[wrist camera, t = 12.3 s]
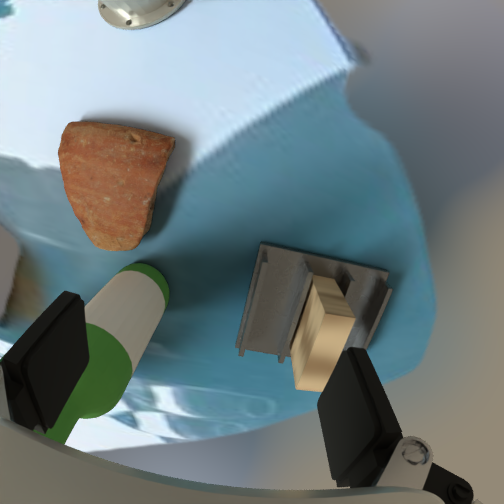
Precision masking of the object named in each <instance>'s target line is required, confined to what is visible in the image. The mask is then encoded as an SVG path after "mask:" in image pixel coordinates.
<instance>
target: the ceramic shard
mask: <svg viewBox="0 0 504 504" xmlns="http://www.w3.org/2000/svg"><path fill="white" fill-rule="evenodd" d="M174 148H175V138H173V137H170V136H166V135H162V134H159V133H155V132H151V131H146V130H143V129H138V128H132V127H127V126H122V125H115V124H103V123H98V122H87V121H86V122H79V121H78V122H70V123H68V125H67V126H66V128H65V130H64V132H63V134H62V136H61V143H60V147H59V150H58V156H59V162H60V169H61V173H62V178H63V181H64V188H65V192H66V195H67V197H68V200H69V202H70V204H71V206H72V208H73V211H74V213H75V215H76V217H77V218H78V219H79V221H80V223H81V225H82V228H83V229H84V231H85V232H86V234H87V236H88V237H89V239H90V240H91V241H92V242H93V244H94V245H95V246H96V247H98V248H100V249H105V250H108V251H126V250H132V249H134V248H136V247H137V246H138V245H139V243H140V241H141V239H142V237H143V236H144V235H145V234H146V233H147V232H148V230H149V229H150V226H151V221H152V215H153V210H154V204H155V200H156V193H157V187H158V185H159V183H160V181H161V179H162V176H163V173H164V170H165V167H166V163H167V161H168V159H169V157H170V155H171V153H172V152H173V150H174Z"/></svg>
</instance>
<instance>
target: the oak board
mask: <svg viewBox="0 0 504 504" xmlns="http://www.w3.org/2000/svg"><path fill="white" fill-rule="evenodd" d="M355 319H356V318H355V316H354V314H353V312H352V310H351V309H350V307H349V305H348V303H347V301H346V299H345V298H344V296H343V294H342V292H341V290H340V288H339V287H338V285H337V283H336V281H335V279H331V278H326V277H321V276H316V275H313V277H312V280H311V283H310V286H309V289H308V292H307V295H306V299H305V302H304V305H303V308H302V311H301V313H300V316H299V319H298V322H297V325H296V328H295V331H294V334H293V337H292V340H291V342H290V345H289V346H290V353H291V360H292V366H293V373H294V380H295V386H296V389H298V390H307V391H318V392H323V390H324V388H325V386H326V384H327V382H328V380H329V378H330V376H331V374H332V372H333V370H334V368H335V365H336V363H337V361H338V359H339V357H340V354H341V352H342V350H343V348H344V345H345V343H346V341H347V338H348V336H349V334H350V331H351V329H352V326H353V324H354V322H355Z"/></svg>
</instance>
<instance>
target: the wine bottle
mask: <svg viewBox="0 0 504 504" xmlns="http://www.w3.org/2000/svg"><path fill="white" fill-rule="evenodd" d="M168 301H169V287H168V284H167V282H166V280H165V278H164V276H163V275H162V274H161V273H160V272H159V271H158V270H156V269H155V268H154V267H152V266H149V265H147V264H142V263H136V264H130V265H128V266H126V267H124V268H123V269H122V270H121V271H119V272H118V273H117V274H116V275H115V276H114V277H113V278H112V279H111V280H110V281H109V282H108V283H107V284H106V285H105V286H104V287H103V288H102V289H101V290H100V291H99V292H98V293H97V294H96V295H95V297H94V298H93V299H92V300H91V301H90V302H89V303H88V304H87V305H86V306H85V320H86V330H87V339H88V347H89V355H90V358H89V363H88V365H87V367H86V369H85V371H84V372H83V374H82V376H81V377H80V379H79V381H78V383H77V384H76V386H75V388H74V390H73V392H72V393H71V395H70V397H69V399H68V401H67V402H66V404H65V406H64V408H63V410H62V412H61V414H60V415H59V417H58V419H57V421H56V423H55V425H54V427H53V428H52V429H50V428H48V430H47V432H46V434H42V433H40V432H38V431H36V430H33V431H34V432H36V433H38V434H40V435H43V436H45V437H47V438H49V439H52V440H54V441H57V442H59V443H61V444H65V442H66V440H67V439H68V437H69V435H70V433H71V431H72V429H73V428H74V426H75V424H76V422H77V421H78V419H79V418H83V419H88V418H96V417H99V416H101V415H103V414H105V413H107V412H109V411H110V410H112V409H113V408H114V407H115V405H116V404H117V403H118V402H119V400H120V399H121V397H122V395H123V393H124V391H125V389H126V387H127V385H128V383H129V381H130V379H131V377H132V375H133V373H134V371H135V369H136V367H137V365H138V363H139V361H140V359H141V357H142V355H143V353H144V351H145V349H146V347H147V345H148V343H149V341H150V339H151V337H152V335H153V333H154V331H155V329H156V327H157V325H158V323H159V321H160V319H161V317H162V316H163V313H164V311H165V309H166V307H167V305H168Z"/></svg>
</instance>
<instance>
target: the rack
mask: <svg viewBox="0 0 504 504" xmlns="http://www.w3.org/2000/svg"><path fill="white" fill-rule="evenodd" d="M313 275H316V276H321V277H326V278H331V279H335V281H336V283H337V285H338V287H339V288H340V290H341V292H342V294H343V296H344V298H345V299H346V301H347V303H348V305H349V307H350V309H351V310H352V312H353V314H354V316H355V318H356V319H355V322H354V324H353V326H352V329H351V331H350V334H349V336H348V338H347V341H346V343H345V345H344V348H343V350H342V351H344V350H347V349H348V348H349V347H358V348H364V349H365V350H366V349H367V347H368V345H369V343H370V341H371V339H372V336H373V334H374V332H375V330H376V328H377V325H378V323H379V321H380V319H381V316H382V314H383V312H384V309H385V307H386V305H387V302H388V300H389V297H390V295H391V293H392V290H393V289H392V288H391V287H390V285H389V284H388V283H387V282H386V280H387V278H388V275H389V272H388V271H387V270H384V269H380V268H376V267H371V266H367V265H363V264H358V263H354V262H350V261H345V260H341V259H336V258H332V257H328V256H323V255H319V254H314V253H310V252H305V251H301V250H296V249H292V248H287V247H283V246H278V245H274V244H269V243H265V242H260V246H259V250H258V255H257V259H256V263H255V267H254V271H253V275H252V279H251V283H250V287H249V291H248V295H247V299H246V303H245V308H244V312H243V316H242V320H241V324H240V328H239V332H238V336H237V340H236V345H235V348H239V356H242V357H243V356H244V352H245V349H246V350H251V351H257V352H263V353H268V354H274V355H278V363H283V362H284V359H285V356H287V357H291V353H290V346H289V345H290V342H291V340H292V337H293V334H294V331H295V328H296V325H297V322H298V319H299V316H300V313H301V311H302V308H303V305H304V302H305V299H306V295H307V292H308V289H309V286H310V283H311V280H312V277H313ZM341 353H342V352H341ZM340 355H341V354H340ZM337 362H338V361H337Z"/></svg>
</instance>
